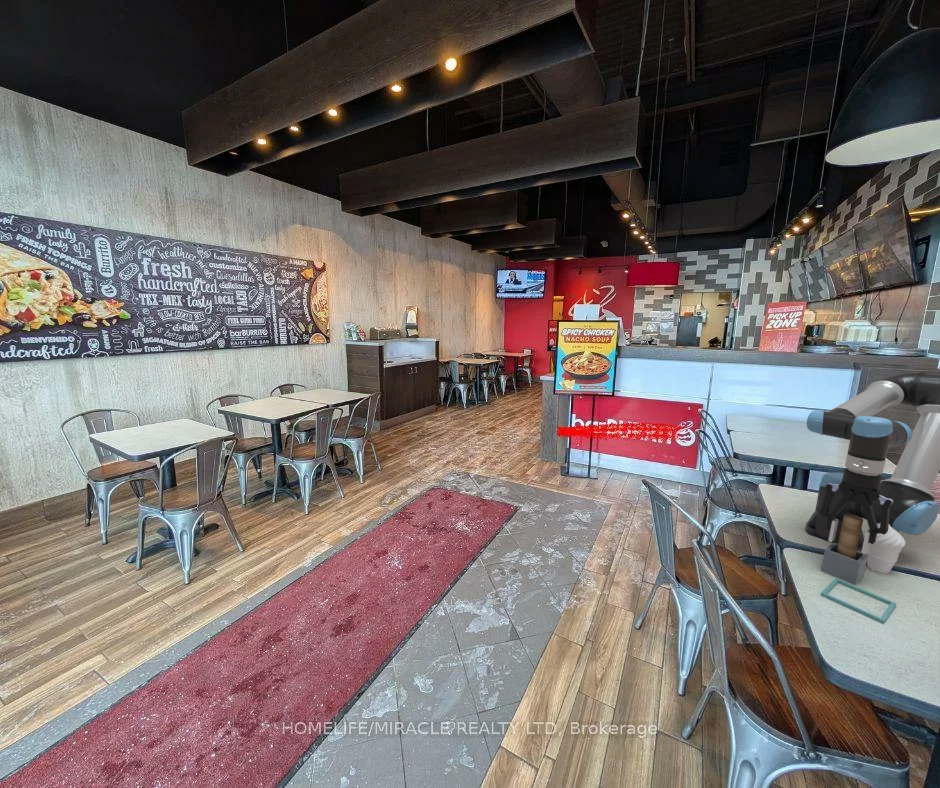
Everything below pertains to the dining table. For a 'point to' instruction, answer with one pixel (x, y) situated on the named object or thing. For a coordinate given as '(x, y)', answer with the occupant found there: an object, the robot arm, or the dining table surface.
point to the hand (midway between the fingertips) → (847, 545)
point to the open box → (844, 565)
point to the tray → (878, 619)
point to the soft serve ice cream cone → (885, 551)
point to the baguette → (849, 535)
